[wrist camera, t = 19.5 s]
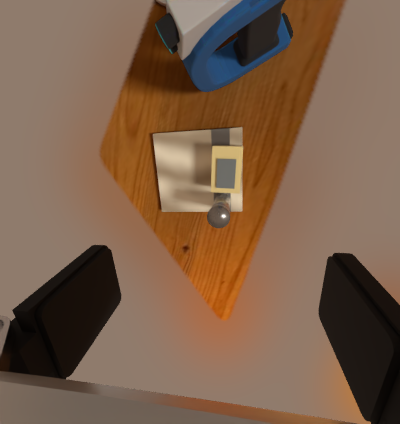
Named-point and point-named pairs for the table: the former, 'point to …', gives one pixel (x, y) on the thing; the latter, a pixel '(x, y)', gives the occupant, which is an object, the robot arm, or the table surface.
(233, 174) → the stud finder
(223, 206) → the steel pin
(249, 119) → the table surface
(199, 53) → the handheld scanner
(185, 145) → the white square mat
